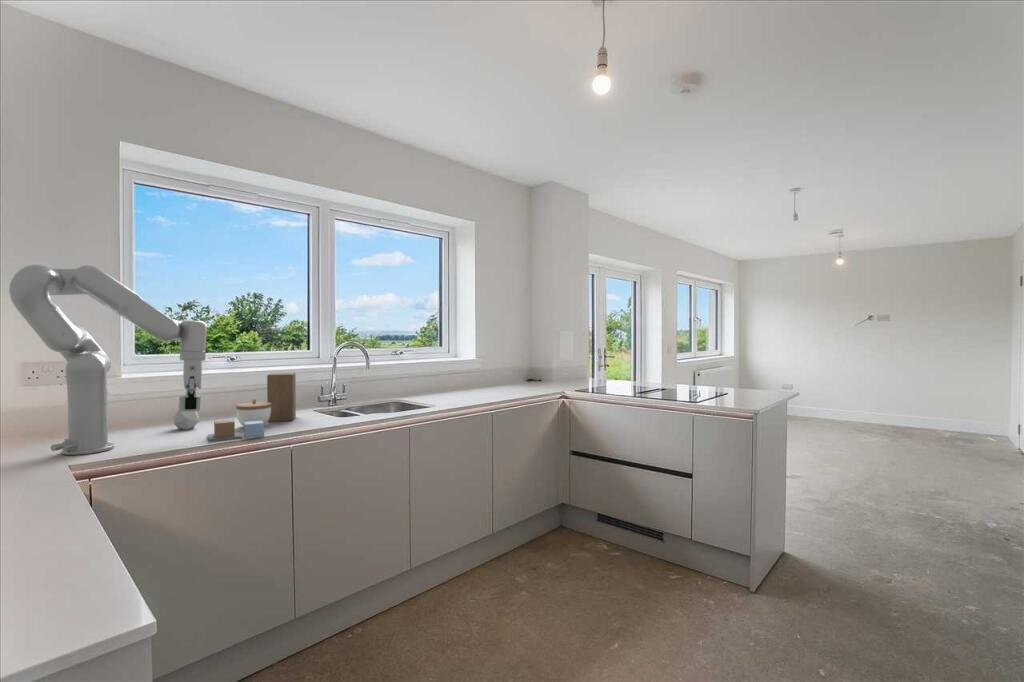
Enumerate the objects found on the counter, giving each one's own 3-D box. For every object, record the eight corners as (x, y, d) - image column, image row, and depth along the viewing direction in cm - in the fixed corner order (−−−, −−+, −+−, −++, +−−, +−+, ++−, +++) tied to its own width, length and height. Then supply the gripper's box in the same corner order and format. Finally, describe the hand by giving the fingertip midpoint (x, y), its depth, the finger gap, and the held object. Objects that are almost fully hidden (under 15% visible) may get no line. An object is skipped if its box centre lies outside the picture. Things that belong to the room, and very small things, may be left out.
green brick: (199, 411, 171) (200, 396, 171) (178, 411, 167) (179, 396, 167) (199, 408, 176) (199, 394, 176) (178, 409, 172) (179, 395, 172)
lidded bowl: (238, 431, 189) (238, 402, 189) (234, 426, 199) (233, 398, 199) (274, 427, 196) (274, 399, 196) (268, 422, 207) (268, 396, 206)
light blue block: (263, 436, 180) (263, 422, 180) (245, 438, 176) (245, 424, 176) (262, 433, 185) (262, 420, 185) (243, 435, 182) (243, 421, 181)
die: (204, 429, 195) (202, 408, 200) (190, 422, 188) (188, 400, 192) (183, 437, 194) (182, 415, 199) (168, 430, 187) (167, 408, 191)
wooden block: (271, 418, 218) (270, 372, 217) (295, 417, 221) (295, 372, 220) (267, 422, 208) (266, 374, 208) (293, 420, 211) (292, 374, 211)
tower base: (241, 438, 176) (241, 422, 176) (208, 441, 170) (208, 424, 170) (239, 433, 184) (238, 418, 184) (207, 436, 179) (207, 420, 179)
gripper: (206, 357, 167) (203, 410, 166) (204, 355, 181) (202, 404, 181) (179, 357, 162) (177, 411, 162) (179, 355, 177) (177, 405, 177)
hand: (190, 407), depth 172 cm, fingers closed on green brick, 6 cm apart
